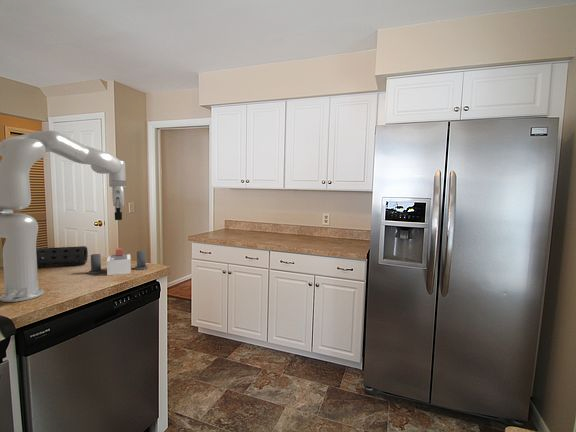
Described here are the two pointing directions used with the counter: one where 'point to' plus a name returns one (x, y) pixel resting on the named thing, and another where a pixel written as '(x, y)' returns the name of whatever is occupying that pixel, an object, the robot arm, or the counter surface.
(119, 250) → the slider
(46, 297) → the counter surface
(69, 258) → the muzzle brake
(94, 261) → the gray post with base
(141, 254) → the spool right
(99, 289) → the counter surface
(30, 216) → the robot arm
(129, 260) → the switch box
